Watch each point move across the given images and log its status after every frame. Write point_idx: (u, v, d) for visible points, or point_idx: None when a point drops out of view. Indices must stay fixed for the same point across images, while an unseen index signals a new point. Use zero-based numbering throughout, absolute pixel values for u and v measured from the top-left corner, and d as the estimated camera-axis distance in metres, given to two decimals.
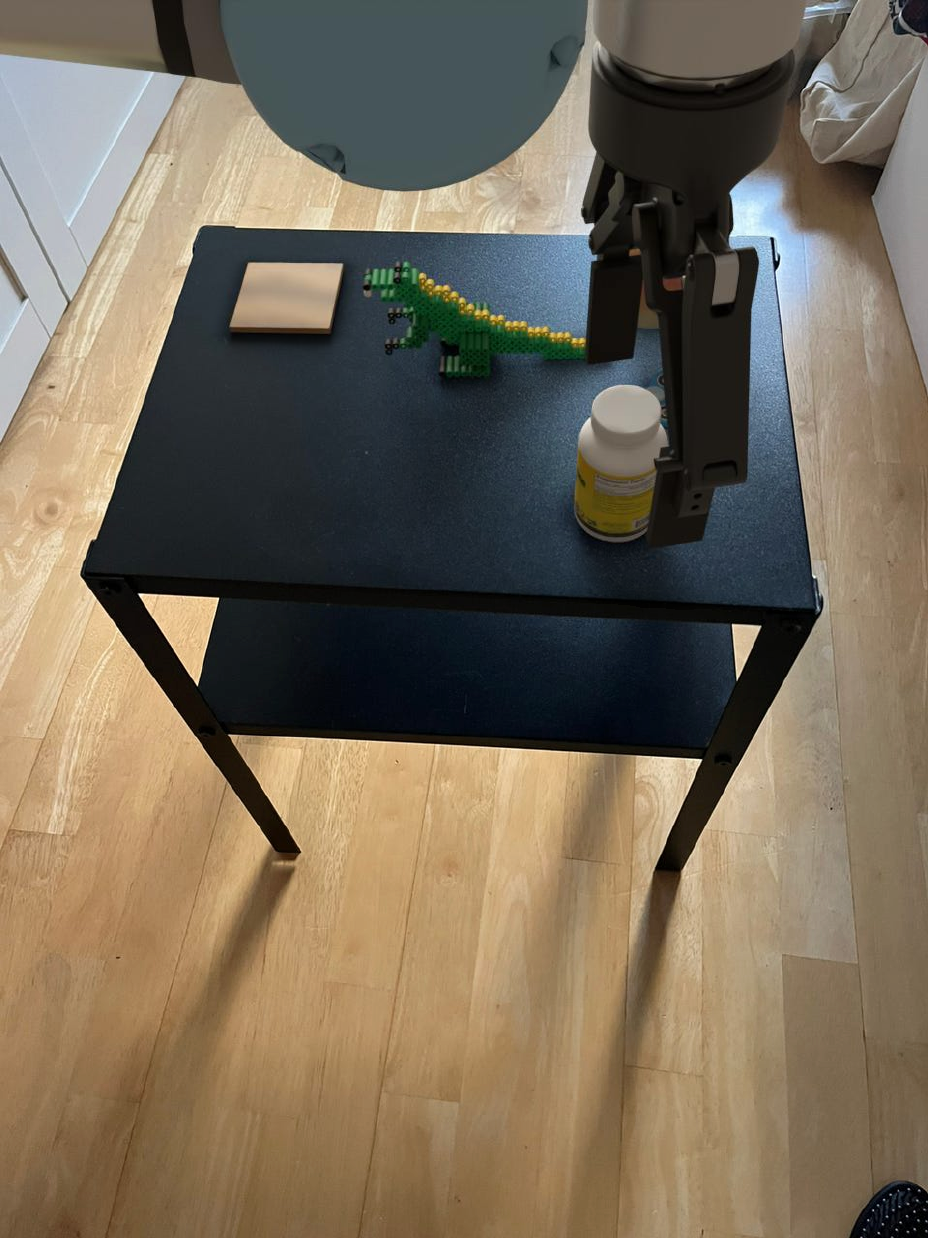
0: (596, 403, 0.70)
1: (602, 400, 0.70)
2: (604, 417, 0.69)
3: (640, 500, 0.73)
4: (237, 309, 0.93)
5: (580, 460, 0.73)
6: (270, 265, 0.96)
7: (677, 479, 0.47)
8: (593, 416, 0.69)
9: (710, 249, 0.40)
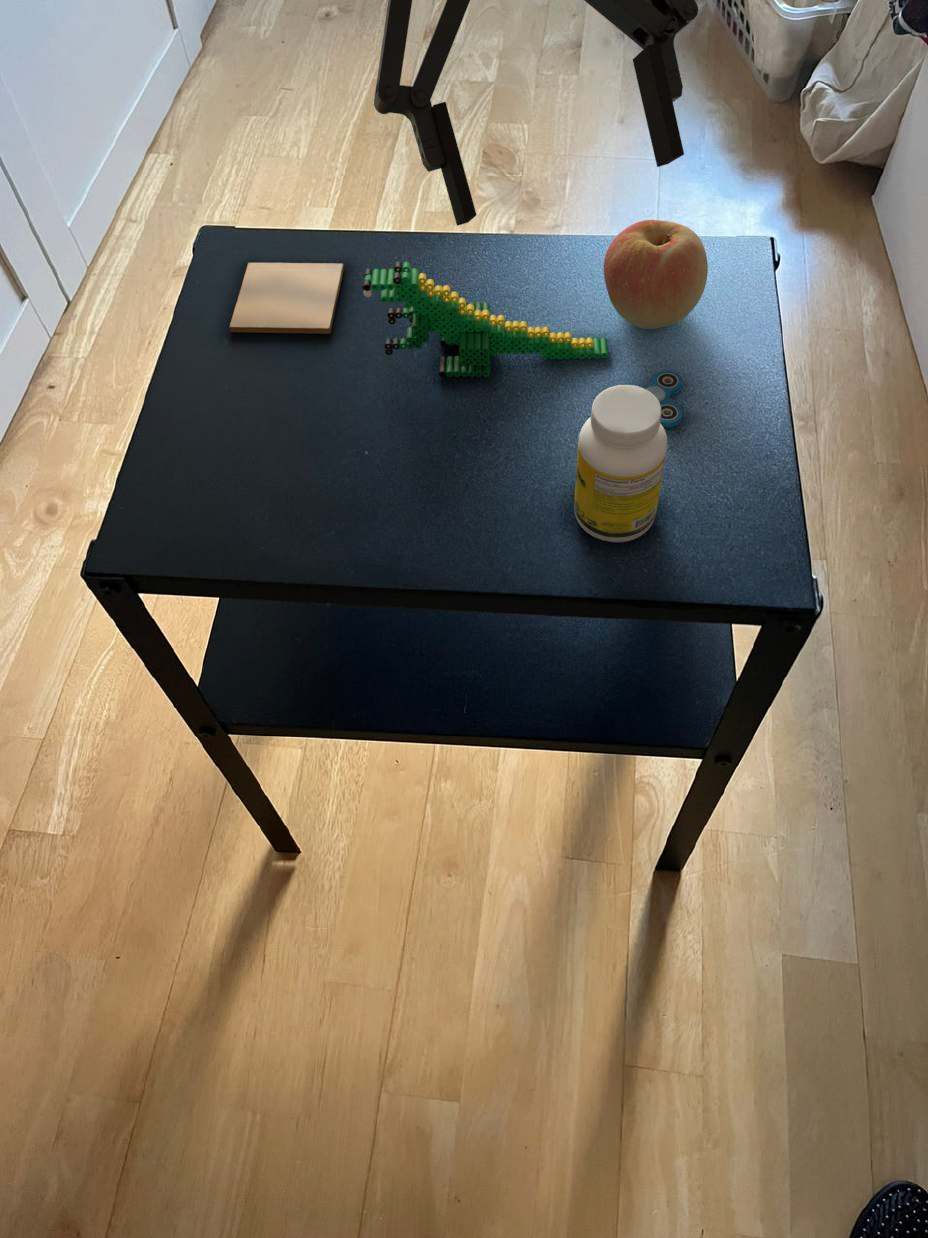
0: (596, 403, 0.70)
1: (602, 400, 0.70)
2: (604, 417, 0.69)
3: (640, 500, 0.73)
4: (237, 309, 0.93)
5: (580, 460, 0.73)
6: (270, 265, 0.96)
7: (664, 65, 0.63)
8: (593, 416, 0.69)
9: None
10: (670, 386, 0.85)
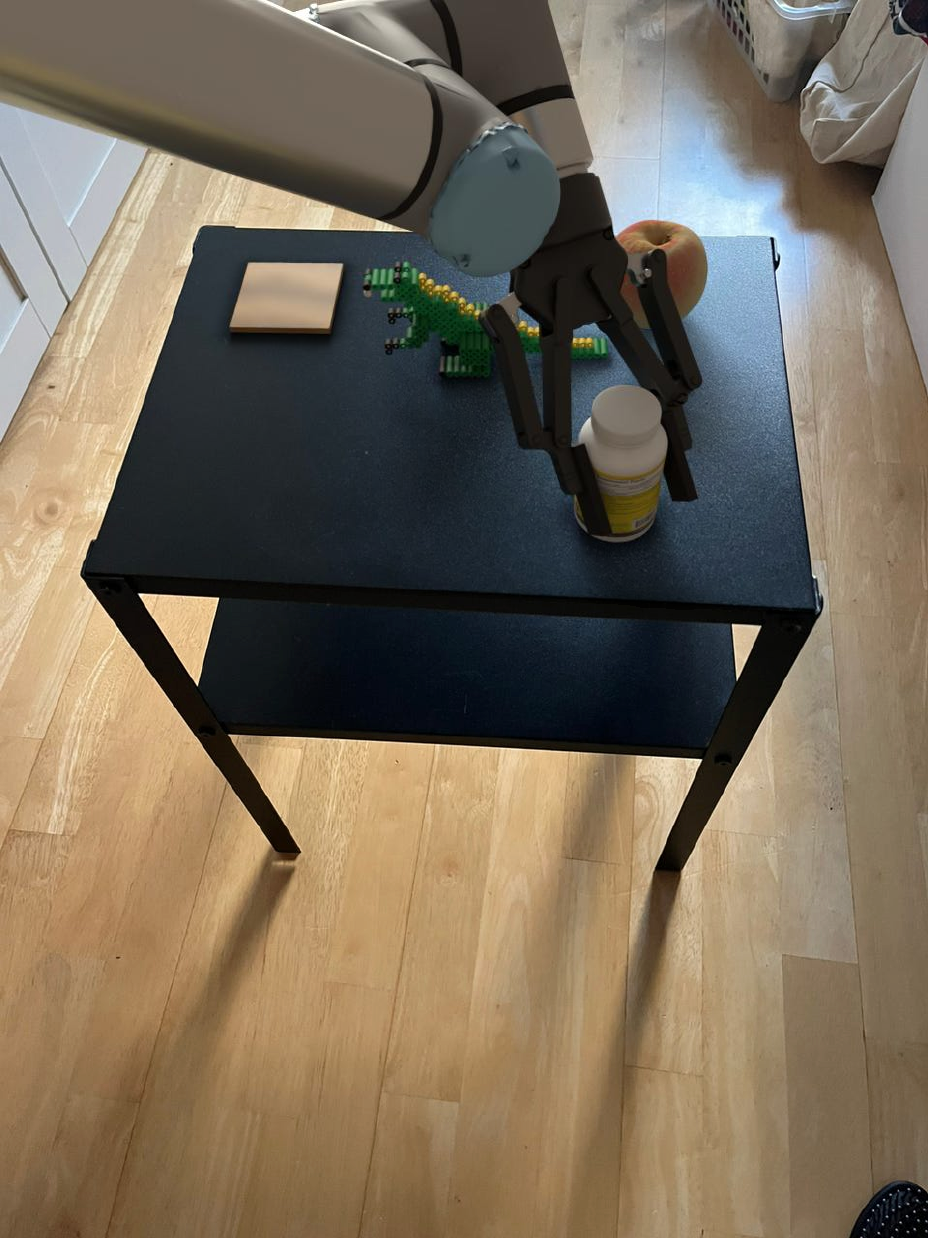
0: (596, 403, 0.70)
1: (602, 400, 0.70)
2: (604, 417, 0.69)
3: (640, 500, 0.73)
4: (237, 309, 0.93)
5: None
6: (270, 265, 0.96)
7: None
8: (594, 416, 0.69)
9: (644, 253, 0.71)
10: None
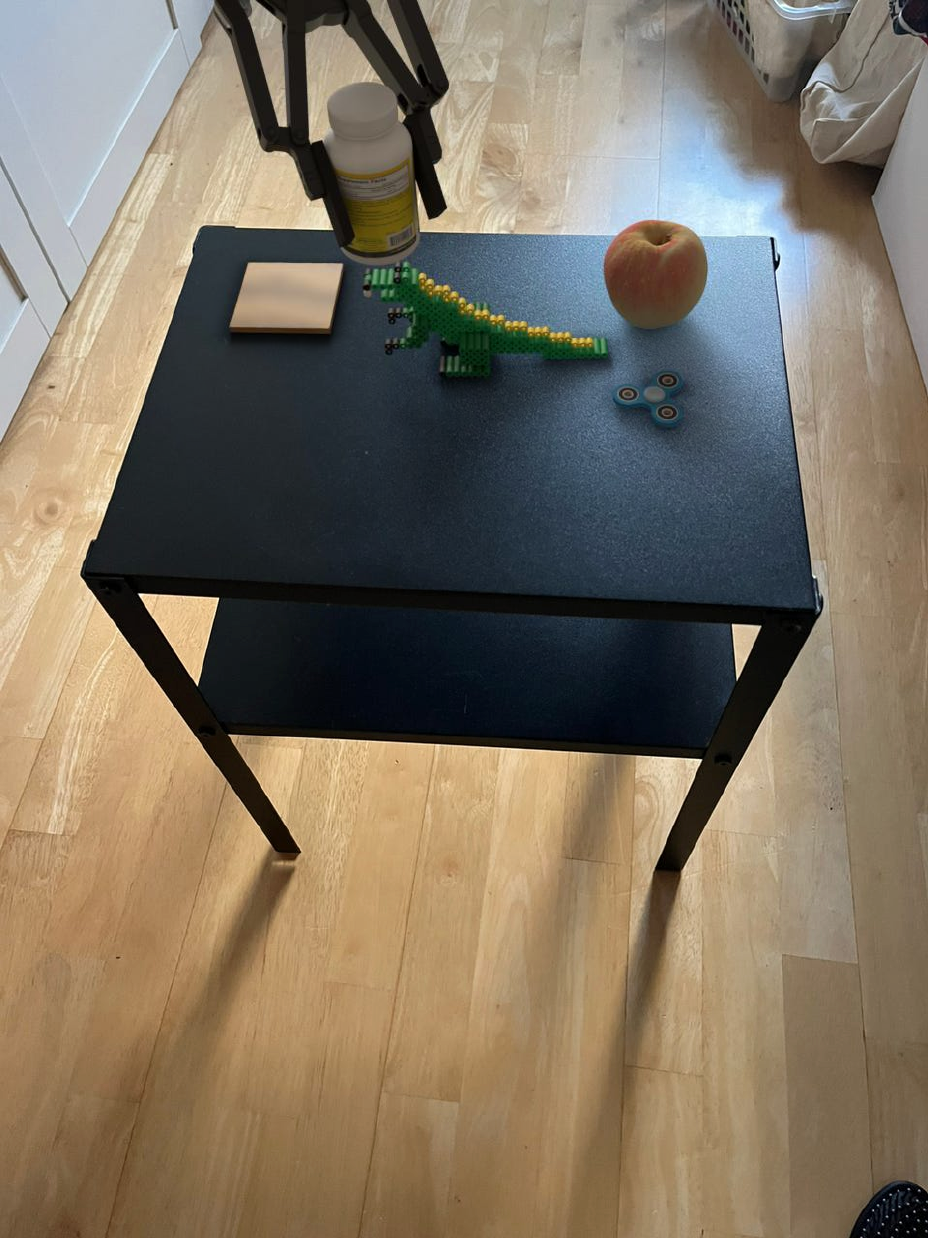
0: (332, 96, 0.69)
1: (339, 94, 0.69)
2: (337, 107, 0.69)
3: (388, 208, 0.72)
4: (237, 309, 0.93)
5: None
6: (270, 265, 0.96)
7: (423, 131, 0.72)
8: (327, 107, 0.69)
9: None
10: (670, 386, 0.85)
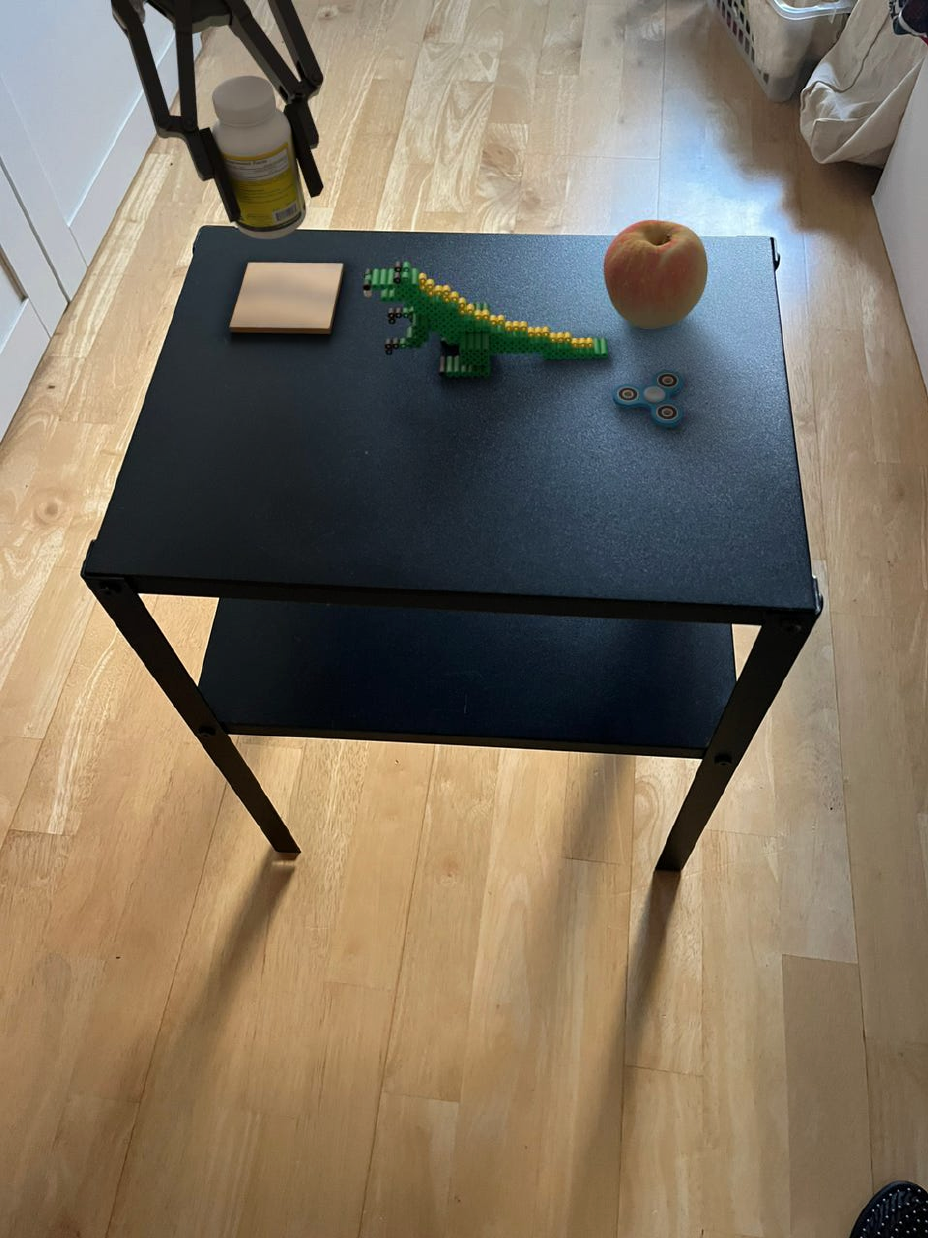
0: (217, 88, 0.79)
1: (223, 86, 0.79)
2: (220, 98, 0.78)
3: (271, 187, 0.82)
4: (237, 309, 0.93)
5: None
6: (270, 265, 0.96)
7: (302, 119, 0.82)
8: (212, 98, 0.78)
9: None
10: (670, 386, 0.85)
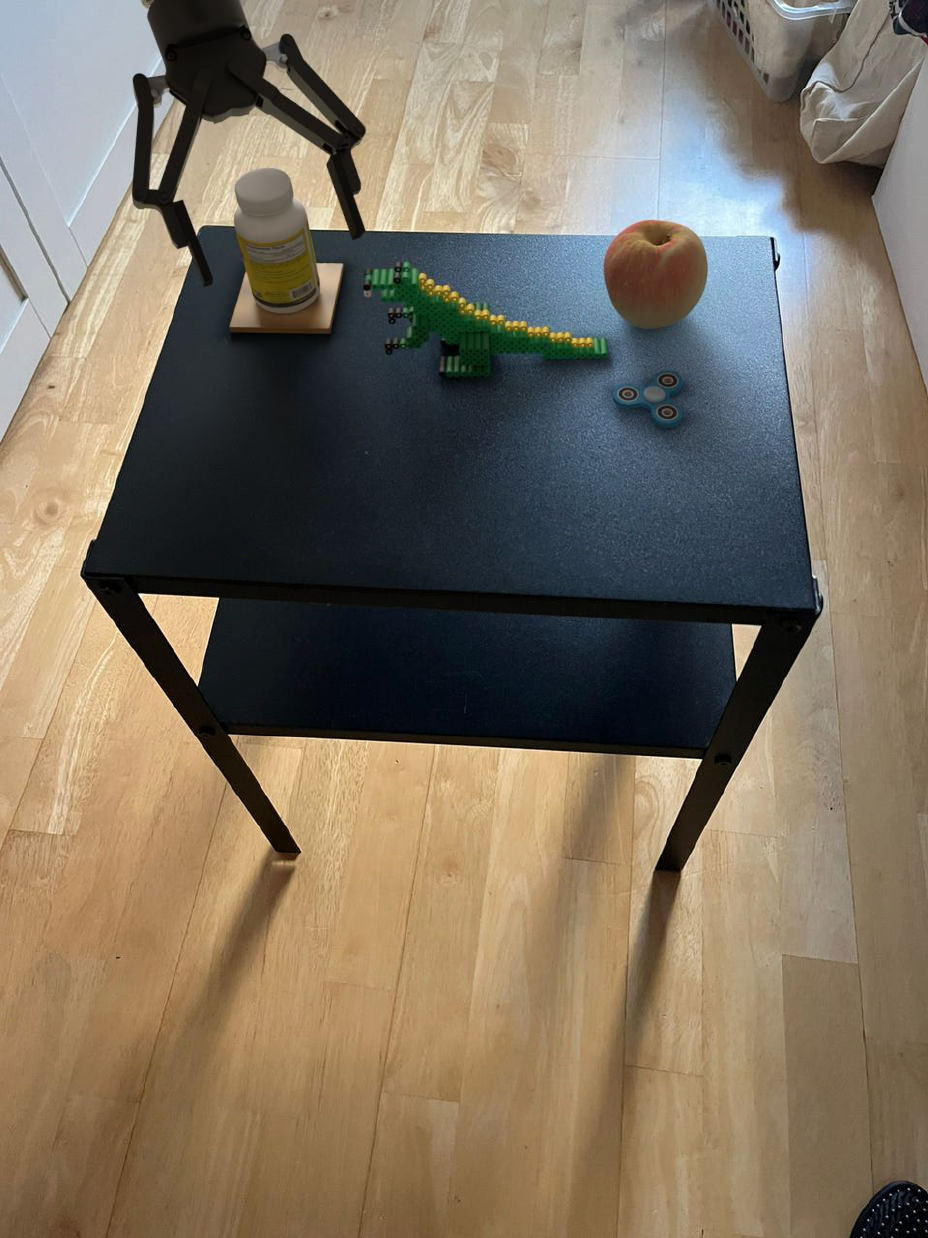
0: (239, 180, 0.85)
1: (244, 178, 0.85)
2: (242, 190, 0.85)
3: (288, 269, 0.88)
4: (237, 309, 0.93)
5: None
6: None
7: (345, 168, 0.88)
8: (235, 189, 0.85)
9: (277, 42, 0.86)
10: (670, 386, 0.85)
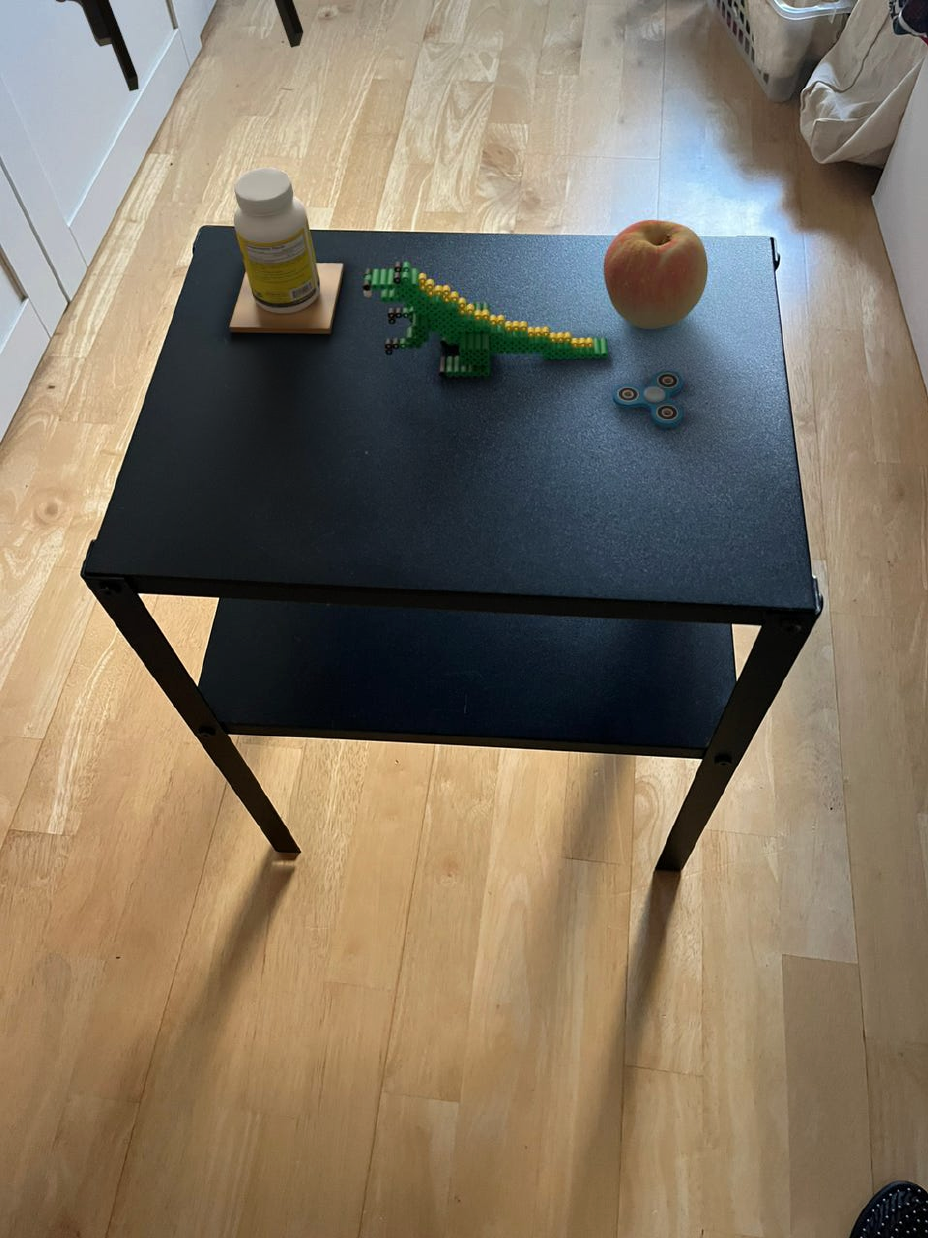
0: (239, 180, 0.85)
1: (244, 178, 0.85)
2: (242, 190, 0.85)
3: (288, 269, 0.88)
4: (237, 309, 0.93)
5: (236, 234, 0.88)
6: None
7: None
8: (234, 190, 0.85)
9: None
10: (670, 386, 0.85)
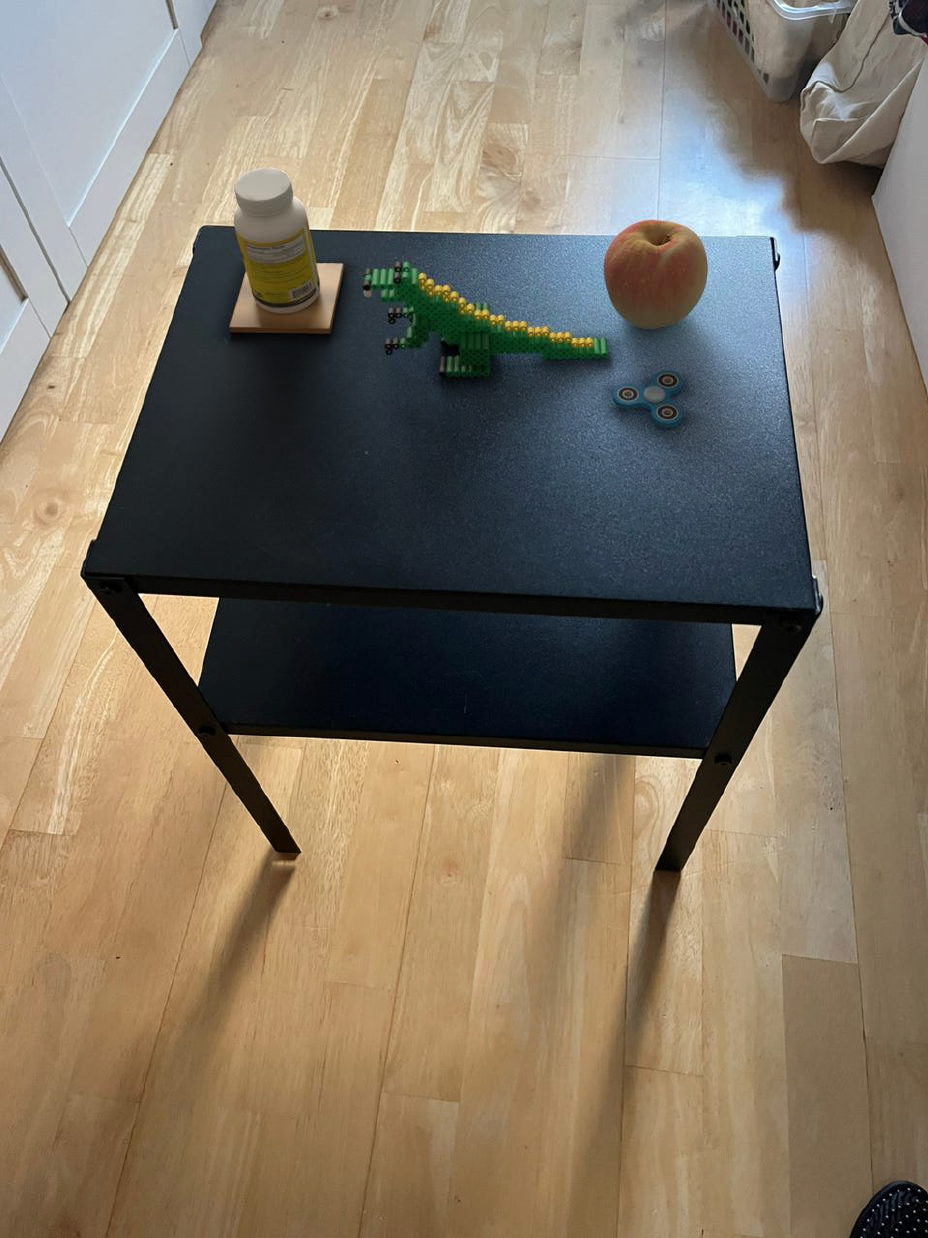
0: (239, 180, 0.85)
1: (244, 178, 0.85)
2: (242, 190, 0.85)
3: (288, 269, 0.88)
4: (237, 309, 0.93)
5: (236, 234, 0.88)
6: None
7: None
8: (234, 190, 0.85)
9: None
10: (670, 386, 0.85)
